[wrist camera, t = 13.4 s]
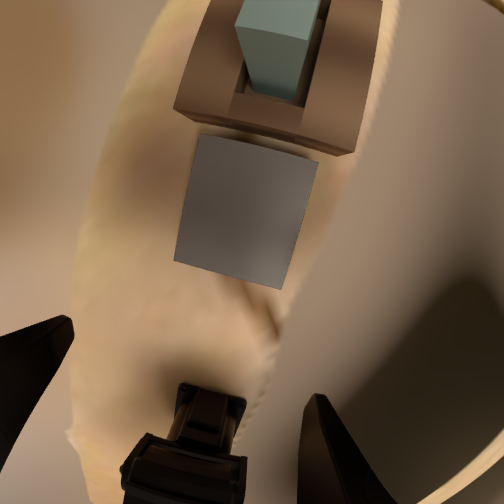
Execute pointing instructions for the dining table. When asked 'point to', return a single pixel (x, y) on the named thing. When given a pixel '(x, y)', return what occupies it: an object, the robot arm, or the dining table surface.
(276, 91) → the block
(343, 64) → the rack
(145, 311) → the dining table surface
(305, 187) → the plate
